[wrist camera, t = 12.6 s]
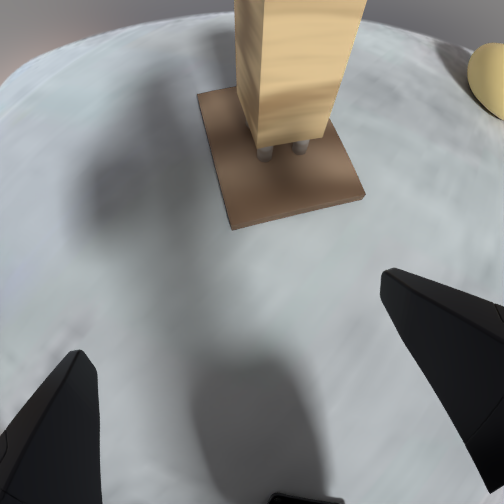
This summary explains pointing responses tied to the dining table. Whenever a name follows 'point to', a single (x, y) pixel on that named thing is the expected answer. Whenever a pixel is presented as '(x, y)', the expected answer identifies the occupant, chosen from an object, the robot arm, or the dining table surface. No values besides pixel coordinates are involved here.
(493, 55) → the sculpture
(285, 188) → the peg base
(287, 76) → the oak block
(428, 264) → the dining table surface
